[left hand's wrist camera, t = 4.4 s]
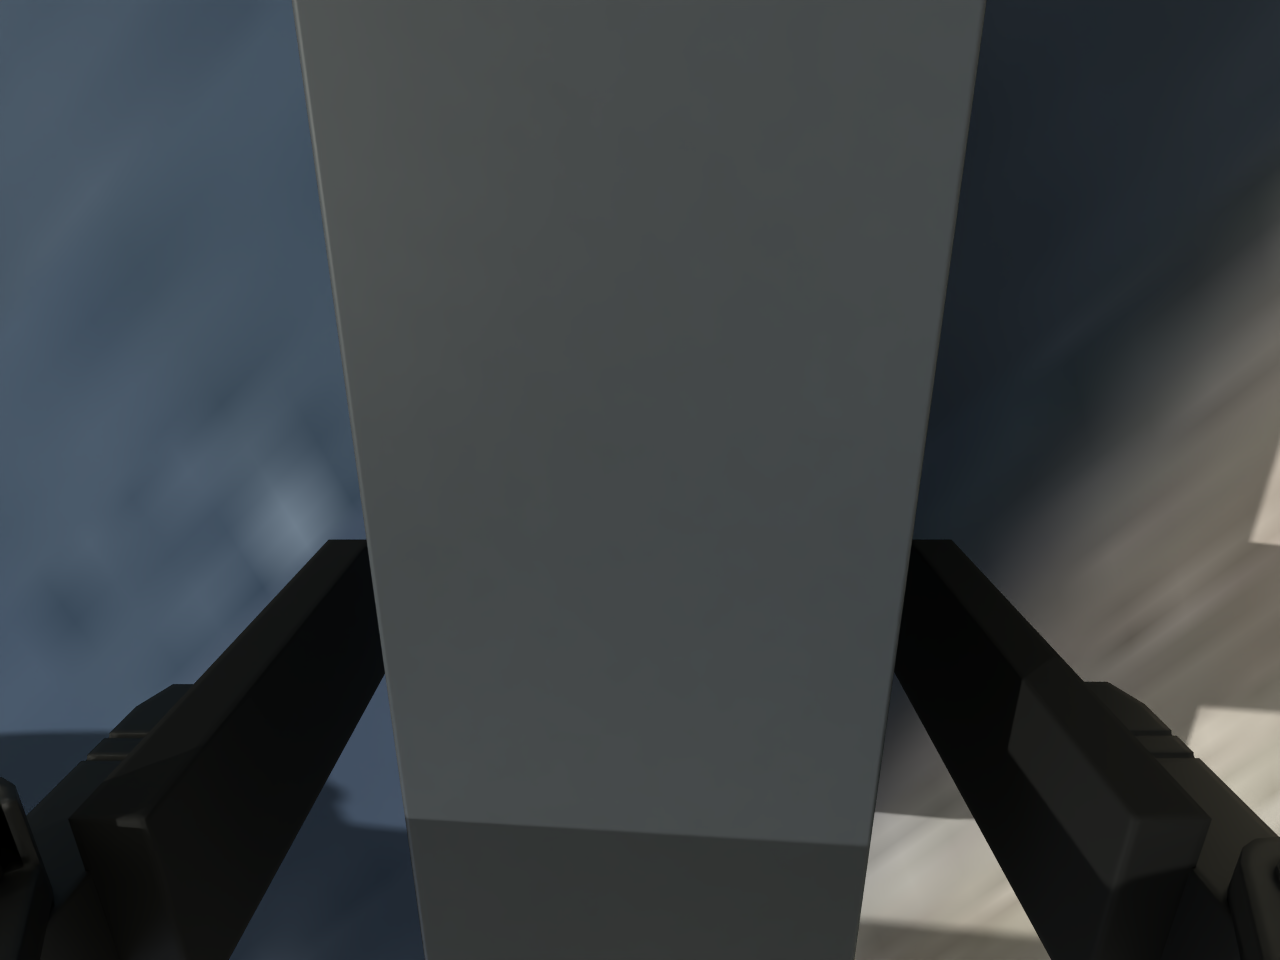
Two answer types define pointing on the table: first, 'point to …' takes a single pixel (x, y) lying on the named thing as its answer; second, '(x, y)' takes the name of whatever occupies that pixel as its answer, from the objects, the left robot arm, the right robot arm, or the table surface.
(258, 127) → the table surface
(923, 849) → the table surface
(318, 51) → the post
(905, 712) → the table surface
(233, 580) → the table surface
